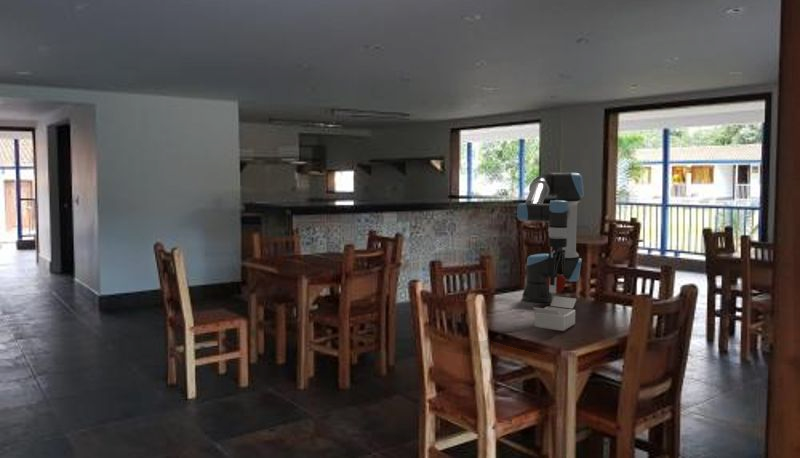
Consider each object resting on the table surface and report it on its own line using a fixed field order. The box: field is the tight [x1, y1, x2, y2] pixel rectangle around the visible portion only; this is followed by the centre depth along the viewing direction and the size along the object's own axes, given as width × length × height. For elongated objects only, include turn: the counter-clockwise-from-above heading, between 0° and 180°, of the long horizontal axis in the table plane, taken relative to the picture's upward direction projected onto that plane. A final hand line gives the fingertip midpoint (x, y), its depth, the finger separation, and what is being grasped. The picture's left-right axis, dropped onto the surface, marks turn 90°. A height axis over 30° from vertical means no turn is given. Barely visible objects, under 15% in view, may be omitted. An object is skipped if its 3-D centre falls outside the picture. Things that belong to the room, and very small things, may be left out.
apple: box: [547, 274, 567, 293], centre depth 266 cm, size 8×8×8 cm
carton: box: [534, 306, 576, 332], centre depth 267 cm, size 15×13×6 cm
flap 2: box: [549, 295, 577, 310], centre depth 276 cm, size 6×10×1 cm
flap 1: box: [532, 306, 561, 316], centre depth 258 cm, size 6×10×1 cm, turn 58°
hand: (556, 291), depth 266 cm, fingers closed on apple, 8 cm apart
